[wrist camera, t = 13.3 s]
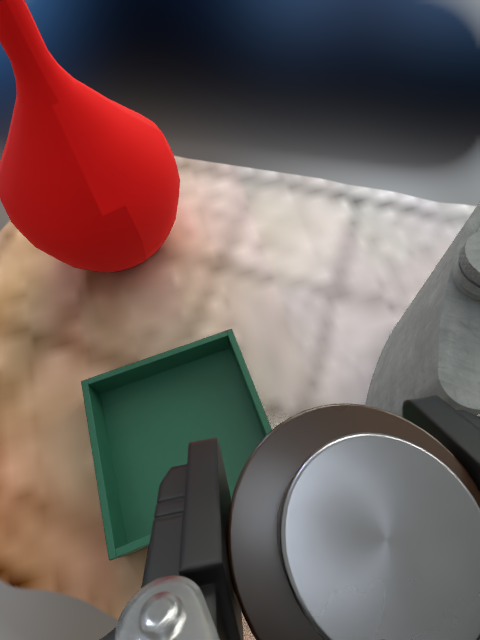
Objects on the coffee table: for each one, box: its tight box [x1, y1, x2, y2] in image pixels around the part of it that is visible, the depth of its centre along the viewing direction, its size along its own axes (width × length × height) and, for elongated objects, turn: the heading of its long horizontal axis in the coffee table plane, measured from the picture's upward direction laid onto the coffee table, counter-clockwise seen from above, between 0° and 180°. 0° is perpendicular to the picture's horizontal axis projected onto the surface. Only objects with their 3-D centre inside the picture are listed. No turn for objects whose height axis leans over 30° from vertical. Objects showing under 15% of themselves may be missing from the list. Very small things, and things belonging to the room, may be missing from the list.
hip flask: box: [366, 202, 480, 418], centre depth 28 cm, size 16×4×20 cm, turn 154°
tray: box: [81, 329, 272, 560], centre depth 34 cm, size 15×15×4 cm
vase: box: [0, 0, 180, 272], centre depth 35 cm, size 18×18×30 cm
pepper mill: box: [227, 404, 480, 640], centre depth 11 cm, size 5×5×12 cm
